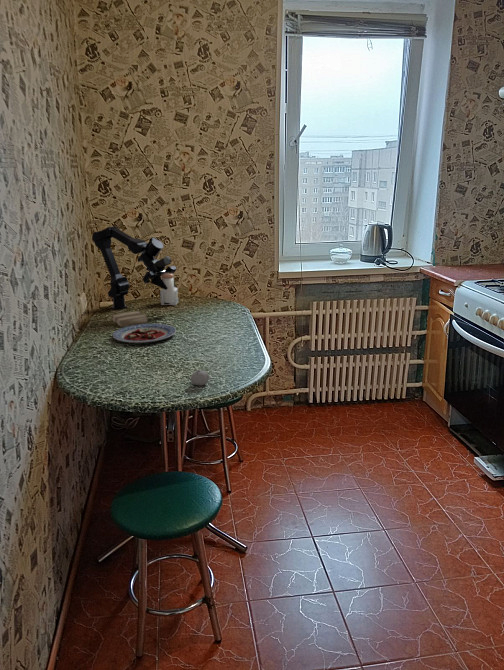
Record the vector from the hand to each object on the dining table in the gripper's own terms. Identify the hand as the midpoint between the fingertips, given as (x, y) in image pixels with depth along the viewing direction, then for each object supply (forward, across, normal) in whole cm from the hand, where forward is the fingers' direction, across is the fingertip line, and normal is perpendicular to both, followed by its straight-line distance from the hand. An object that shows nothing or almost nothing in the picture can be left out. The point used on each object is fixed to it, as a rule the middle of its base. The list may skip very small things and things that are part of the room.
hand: (170, 288), depth 250 cm
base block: (+2, -17, +17) cm, 24 cm away
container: (-2, +18, +22) cm, 29 cm away
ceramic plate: (+18, -31, +2) cm, 36 cm away
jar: (+4, 0, +6) cm, 7 cm away
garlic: (+54, -62, -35) cm, 89 cm away
